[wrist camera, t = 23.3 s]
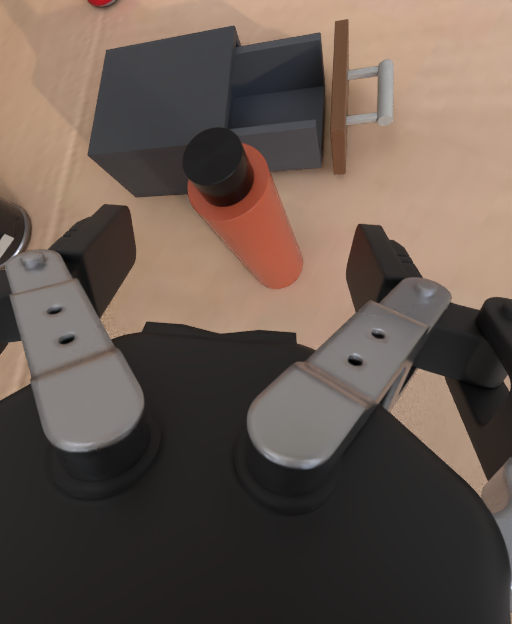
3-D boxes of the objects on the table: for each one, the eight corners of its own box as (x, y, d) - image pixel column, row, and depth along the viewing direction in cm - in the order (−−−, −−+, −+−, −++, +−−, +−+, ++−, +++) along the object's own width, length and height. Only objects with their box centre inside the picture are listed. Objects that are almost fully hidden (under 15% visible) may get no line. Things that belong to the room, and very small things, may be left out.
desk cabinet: (256, 93, 43) (234, 25, 35) (248, 190, 41) (222, 141, 32) (148, 108, 47) (106, 49, 39) (135, 197, 44) (87, 155, 36)
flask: (251, 288, 38) (162, 202, 20) (255, 240, 39) (173, 118, 21) (301, 289, 37) (254, 197, 19) (304, 239, 38) (261, 107, 20)
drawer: (389, 73, 38) (397, 9, 32) (388, 170, 36) (396, 124, 30) (231, 95, 43) (210, 43, 36) (223, 182, 41) (198, 144, 34)
